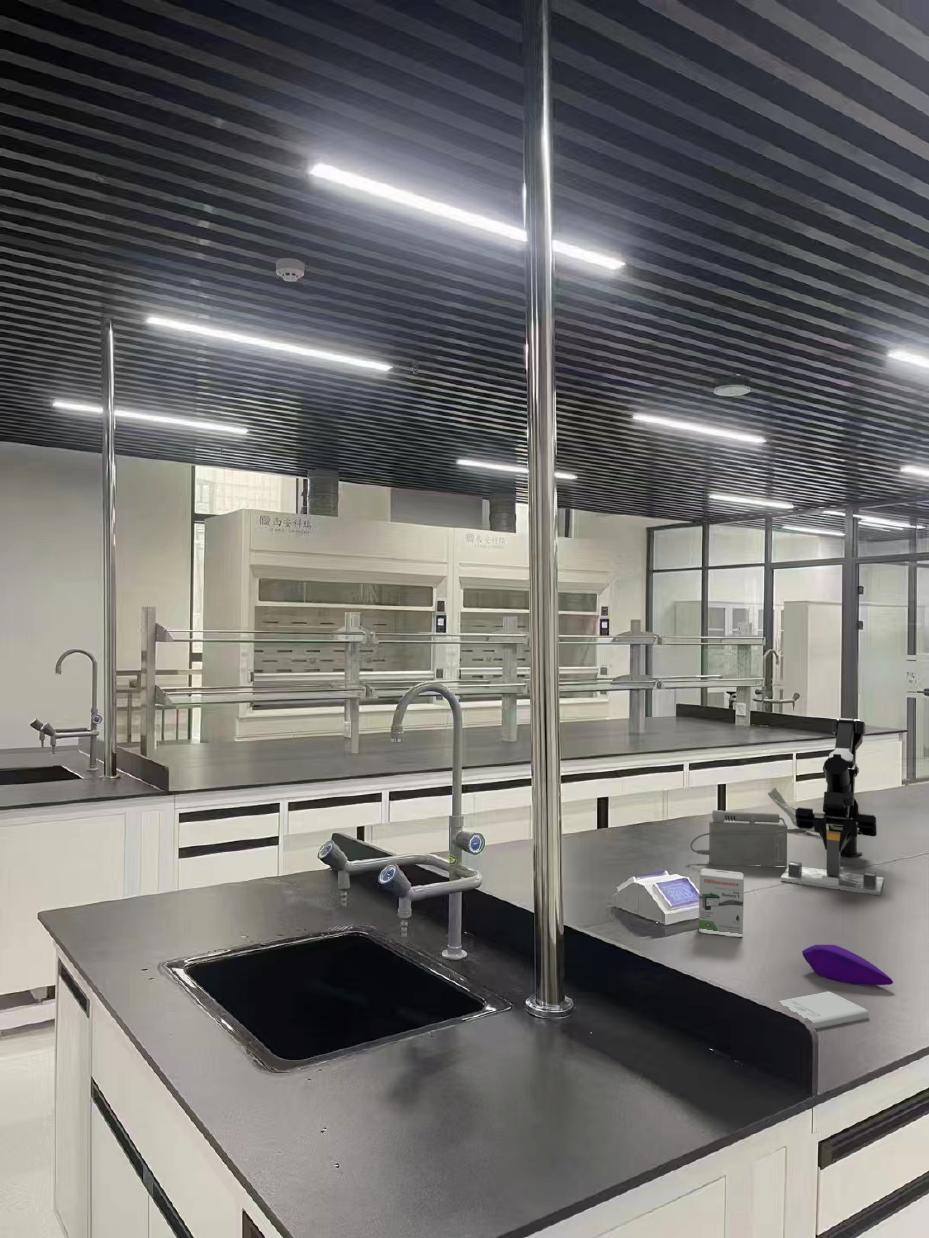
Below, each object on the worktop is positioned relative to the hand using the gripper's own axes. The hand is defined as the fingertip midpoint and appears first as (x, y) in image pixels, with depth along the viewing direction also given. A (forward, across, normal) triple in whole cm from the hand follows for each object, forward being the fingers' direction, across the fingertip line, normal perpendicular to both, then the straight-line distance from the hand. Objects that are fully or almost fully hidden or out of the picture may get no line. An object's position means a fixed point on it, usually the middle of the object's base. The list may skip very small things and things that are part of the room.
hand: (832, 849), depth 212 cm
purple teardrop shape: (+54, +9, -42) cm, 69 cm away
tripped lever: (+3, 0, +5) cm, 6 cm away
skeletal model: (-37, -14, +48) cm, 62 cm away
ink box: (+44, -15, -33) cm, 57 cm away
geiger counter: (+3, -23, +8) cm, 25 cm away
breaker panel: (+6, 0, +5) cm, 8 cm away
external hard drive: (+66, +7, -55) cm, 86 cm away
